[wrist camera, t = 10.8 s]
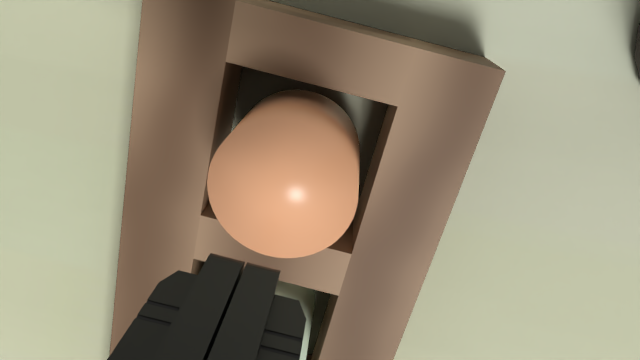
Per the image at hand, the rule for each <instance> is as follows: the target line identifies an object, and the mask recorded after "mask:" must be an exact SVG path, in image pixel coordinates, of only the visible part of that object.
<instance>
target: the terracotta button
mask: <svg viewBox="0 0 640 360" xmlns="http://www.w3.org/2000/svg"><path fill="white" fill-rule="evenodd" d="M359 166H360V143H359V138H358V134H357V132H356V129H355V127H354V125H353V123H352V121H351V119H350V118H349V116H348V115H347V114H346V113H345V111H344V110H343V109H342V108H341V107H340V106H338V105H337V104H336V103H335V102H333V101H332V100H330V99H329V98H327V97H325V96H323V95H321V94H318V93H315V92H311V91H306V90H286V91H281V92H277V93H274V94H272V95H270V96H268V97H266V98H264V99H262V100H261V101H260V102H258V103H257V104H256V105H255V106H254V107H253V108H252V109H251V110H250V111H249V112H248V113H247V115H246V116H245V117H244V118H243V119H242V120H241V122H240V123H239V124H238V125H237V126H236V127H235V128H234V130H233V131H232V132H231V133H230V134H229V135H228V137H227V138H226V139H225V140H224V141H223V143H222V144H221V145H220V146H219V148H218V149H217V151H216V153H215V154H214V156H213V159H212V161H211V163H210V167H209V171H208V179H207V188H208V196H209V201H210V204H211V207H212V210H213V212H214V214H215V216H216V218H217V219H218V221H219V222H220V224H221V225H222V227H223V228H224V229H225V230H226V231H227V232H228V233H229V234H230V235H231V236H232V237H233V238H234V239H235V240H237V241H238V242H239V243H241V244H242V245H244V246H245V247H247V248H249V249H251V250H253V251H255V252H257V253H260V254H263V255H267V256H271V257H276V258H298V257H305V256H308V255H312V254H315V253H317V252H320V251H322V250H324V249H325V248H327V247H329V246H330V245H332V244H333V243H334V242H336V241H337V240H338V239H339V238H340V237H341V236H342V235H343V234H344V232H345V231H346V230H347V228H348V227H349V225H350V223H351V222H352V220H353V217H354V215H355V212H356V208H357V204H358V194H359Z"/></svg>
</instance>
